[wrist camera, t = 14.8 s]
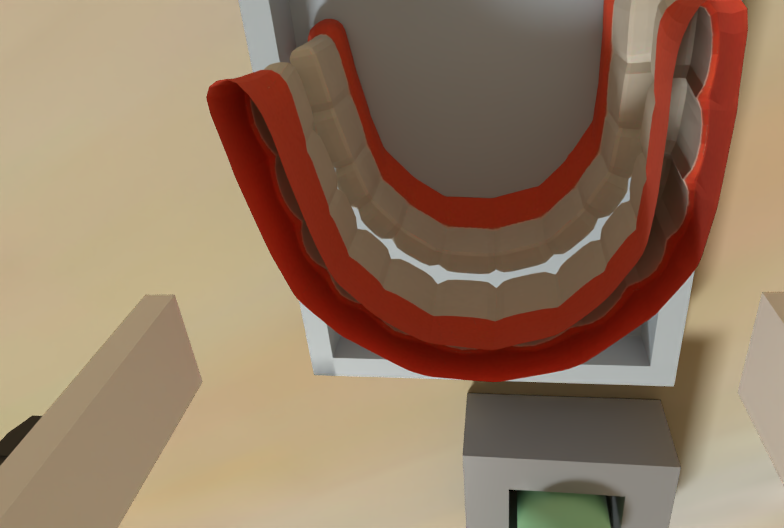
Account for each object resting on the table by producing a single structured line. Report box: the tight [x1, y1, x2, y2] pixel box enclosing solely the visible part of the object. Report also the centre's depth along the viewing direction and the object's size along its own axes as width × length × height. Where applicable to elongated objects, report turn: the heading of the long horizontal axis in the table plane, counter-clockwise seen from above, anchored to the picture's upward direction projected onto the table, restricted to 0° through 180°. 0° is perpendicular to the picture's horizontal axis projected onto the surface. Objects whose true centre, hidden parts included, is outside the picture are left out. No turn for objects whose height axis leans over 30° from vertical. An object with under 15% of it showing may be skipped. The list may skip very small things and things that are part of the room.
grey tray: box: [238, 0, 743, 386], centre depth 23 cm, size 16×20×3 cm
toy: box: [206, 0, 748, 382], centre depth 20 cm, size 12×10×8 cm
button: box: [517, 490, 611, 528], centre depth 30 cm, size 4×4×4 cm
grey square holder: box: [463, 393, 681, 528], centre depth 31 cm, size 9×9×4 cm
